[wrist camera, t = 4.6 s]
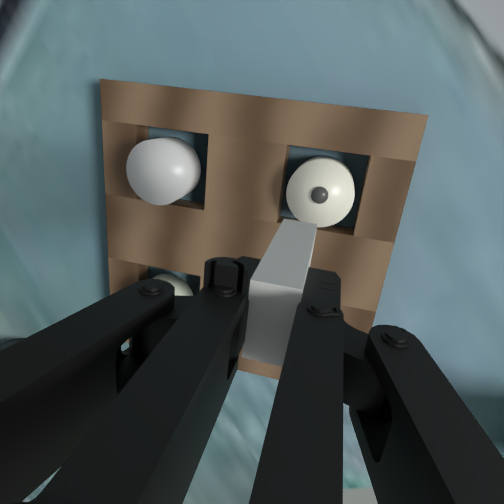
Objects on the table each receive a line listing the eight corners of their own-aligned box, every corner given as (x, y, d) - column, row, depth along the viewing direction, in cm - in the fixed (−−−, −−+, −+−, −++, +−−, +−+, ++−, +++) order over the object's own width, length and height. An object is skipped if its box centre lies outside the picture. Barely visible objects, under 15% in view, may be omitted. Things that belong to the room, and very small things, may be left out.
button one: (287, 211, 31) (281, 222, 28) (296, 151, 29) (290, 156, 26) (347, 221, 30) (347, 233, 27) (359, 160, 28) (361, 166, 25)
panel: (122, 328, 40) (111, 338, 38) (114, 80, 30) (99, 78, 29) (352, 383, 35) (352, 398, 34) (422, 114, 26) (428, 115, 24)
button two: (146, 313, 36) (128, 331, 33) (146, 269, 34) (127, 283, 31) (193, 324, 35) (179, 343, 32) (195, 279, 33) (181, 295, 31)
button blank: (146, 192, 32) (127, 199, 29) (145, 133, 30) (125, 135, 27) (199, 201, 31) (185, 210, 28) (202, 140, 29) (187, 144, 26)
